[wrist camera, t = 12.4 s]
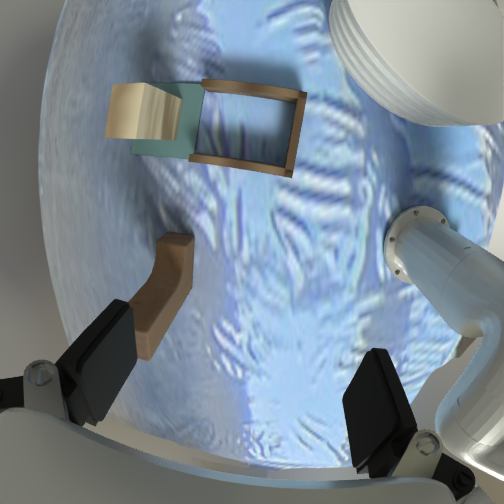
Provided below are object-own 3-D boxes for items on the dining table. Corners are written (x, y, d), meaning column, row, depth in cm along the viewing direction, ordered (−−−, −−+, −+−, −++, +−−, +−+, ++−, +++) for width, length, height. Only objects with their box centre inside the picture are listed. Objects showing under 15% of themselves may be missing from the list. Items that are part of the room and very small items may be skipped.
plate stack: (349, 127, 34) (377, 119, 23) (309, -29, 24) (315, -70, 14) (492, 132, 30) (536, 135, 19) (453, -6, 20) (484, -27, 10)
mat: (206, 85, 33) (205, 84, 33) (193, 159, 37) (192, 159, 37) (142, 83, 33) (141, 83, 33) (132, 153, 37) (130, 154, 37)
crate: (304, 98, 33) (307, 92, 29) (290, 175, 37) (291, 178, 33) (209, 85, 33) (202, 78, 29) (197, 160, 37) (188, 161, 33)
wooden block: (167, 230, 41) (103, 284, 24) (195, 235, 41) (143, 293, 24) (166, 283, 44) (115, 352, 28) (192, 288, 44) (150, 363, 27)
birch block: (182, 99, 34) (145, 82, 22) (176, 140, 36) (135, 138, 25) (157, 98, 34) (113, 84, 23) (151, 138, 36) (104, 137, 25)
